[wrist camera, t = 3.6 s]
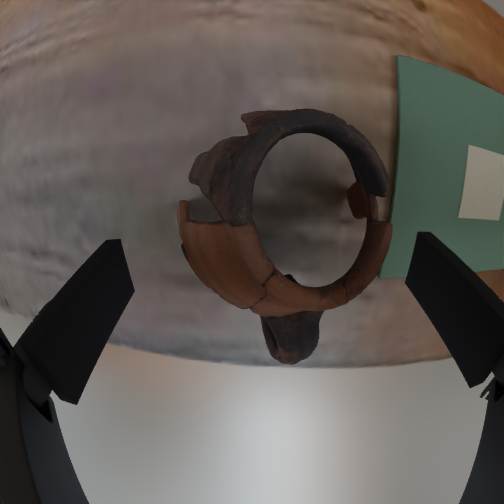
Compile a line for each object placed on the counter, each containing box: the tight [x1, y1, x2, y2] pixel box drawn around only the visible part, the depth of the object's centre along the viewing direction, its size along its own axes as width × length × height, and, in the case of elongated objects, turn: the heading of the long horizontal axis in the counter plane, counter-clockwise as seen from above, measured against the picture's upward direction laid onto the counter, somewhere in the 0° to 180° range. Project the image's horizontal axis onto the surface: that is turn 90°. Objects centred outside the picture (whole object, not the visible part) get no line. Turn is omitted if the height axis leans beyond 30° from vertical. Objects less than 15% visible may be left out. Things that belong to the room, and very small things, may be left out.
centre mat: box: [378, 55, 504, 279], centre depth 13 cm, size 16×14×1 cm
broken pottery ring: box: [177, 109, 393, 365], centre depth 13 cm, size 12×10×8 cm
